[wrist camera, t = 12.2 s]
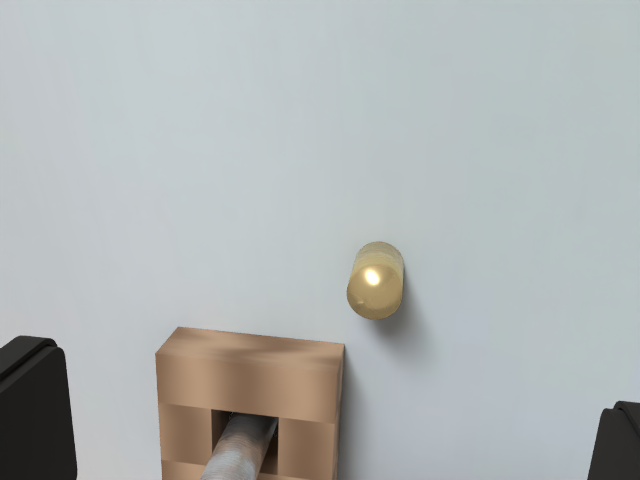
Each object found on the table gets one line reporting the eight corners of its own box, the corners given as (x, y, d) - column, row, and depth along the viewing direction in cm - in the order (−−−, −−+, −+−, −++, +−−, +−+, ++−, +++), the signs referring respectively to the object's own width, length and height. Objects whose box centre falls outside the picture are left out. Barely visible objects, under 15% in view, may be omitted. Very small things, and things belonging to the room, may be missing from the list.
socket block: (344, 344, 41) (337, 373, 37) (336, 486, 45) (329, 526, 41) (178, 326, 43) (155, 353, 39) (183, 466, 46) (163, 503, 43)
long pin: (281, 392, 43) (233, 512, 32) (280, 429, 44) (233, 560, 33) (238, 387, 44) (176, 504, 32) (238, 424, 44) (178, 551, 33)
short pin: (405, 243, 38) (404, 270, 34) (401, 289, 39) (400, 322, 35) (356, 239, 39) (348, 266, 34) (353, 285, 40) (345, 316, 35)
